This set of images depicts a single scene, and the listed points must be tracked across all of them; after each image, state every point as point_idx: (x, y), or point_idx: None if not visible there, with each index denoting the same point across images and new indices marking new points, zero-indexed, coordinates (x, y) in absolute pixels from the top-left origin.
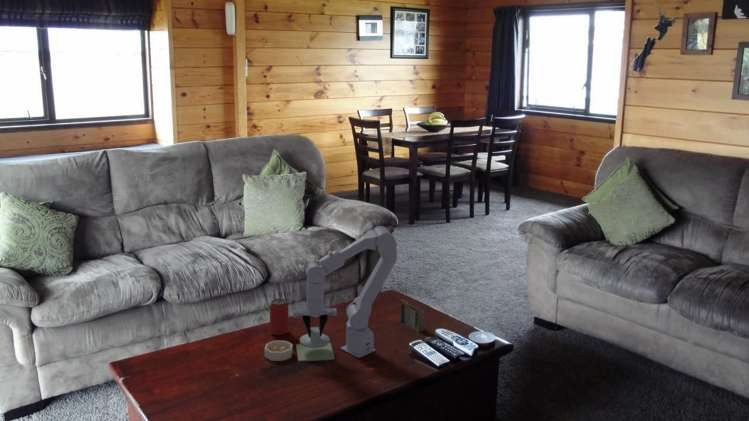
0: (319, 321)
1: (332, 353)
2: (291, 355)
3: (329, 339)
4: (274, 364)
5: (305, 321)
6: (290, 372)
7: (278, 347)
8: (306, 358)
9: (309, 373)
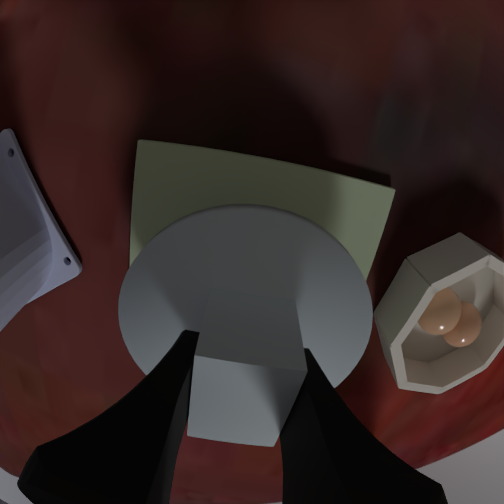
0: (170, 484)
1: (136, 212)
2: (409, 263)
3: (119, 298)
4: (500, 208)
5: (434, 496)
6: (466, 77)
7: (459, 333)
8: (338, 195)
9: (369, 7)
